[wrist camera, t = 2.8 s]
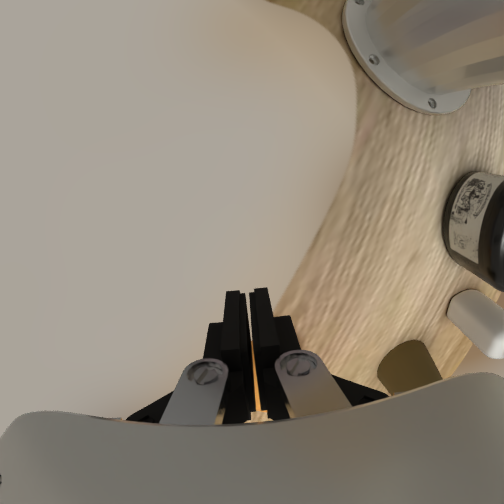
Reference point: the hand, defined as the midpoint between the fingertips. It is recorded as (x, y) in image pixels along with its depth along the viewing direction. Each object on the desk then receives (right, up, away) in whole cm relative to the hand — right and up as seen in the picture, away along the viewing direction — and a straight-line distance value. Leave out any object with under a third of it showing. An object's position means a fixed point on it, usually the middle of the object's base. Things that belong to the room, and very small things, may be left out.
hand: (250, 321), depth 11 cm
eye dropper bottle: (+22, -2, +11) cm, 25 cm away
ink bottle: (+20, +6, +8) cm, 22 cm away
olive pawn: (+16, -9, +13) cm, 22 cm away
